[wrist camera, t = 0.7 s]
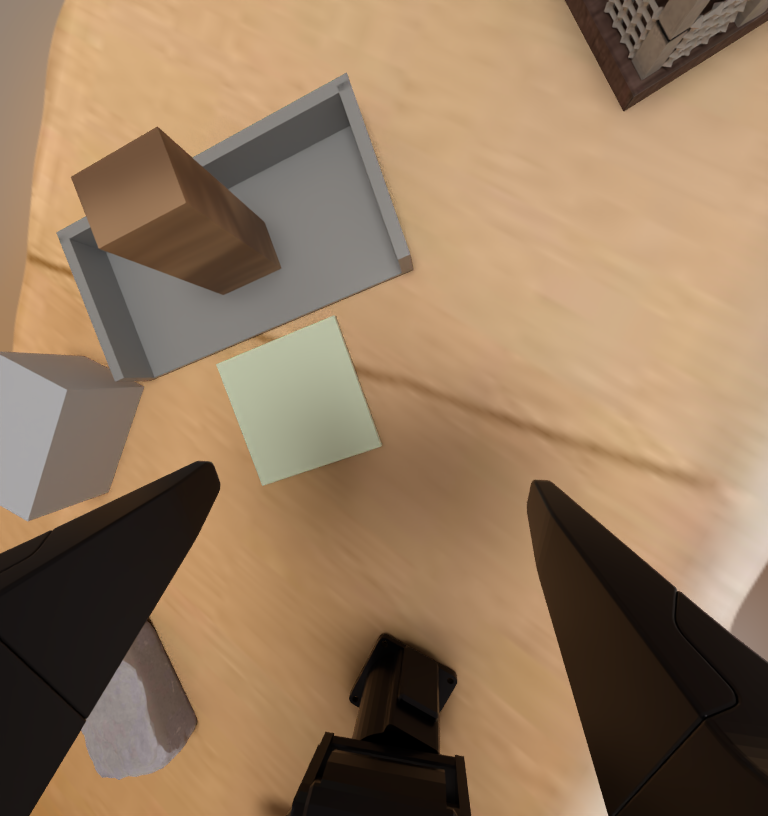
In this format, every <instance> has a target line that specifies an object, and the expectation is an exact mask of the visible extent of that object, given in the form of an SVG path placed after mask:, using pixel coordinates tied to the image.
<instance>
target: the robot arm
mask: <svg viewBox="0 0 768 816" xmlns="http://www.w3.org/2000/svg"><path fill="white" fill-rule="evenodd" d="M219 491H220V481H219V478H218V475H217V472H216V470H215V467H214V465H213V463H212V462H209V461H196V462H194V463H192V464H190V465H188V466H185V467H183V468H181V469H179V470H177V471H175V472H173V473H171V474H169V475H166V476H164V477H162V478H160V479H158V480H156V481H154V482H152V483H150V484H147V485H145V486H143V487H141V488H139V489H137V490H135V491H133V492H131V493H128V494H126V495H124V496H122V497H120V498H118V499H116V500H114V501H112V502H109V503H107V504H105V505H103V506H101V507H99V508H97V509H95V510H93V511H90V512H88V513H86V514H84V515H82V516H80V517H78V518H76V519H74V520H71V521H69V522H67V523H65V524H63V525H61V526H59V527H57V528H55V529H54V530H53V531H48V532H46V533H44V534H42V535H40V536H37V537H35V538H33V539H31V540H29V541H27V542H25V543H22V544H20V545H18V546H16V547H14V548H12V549H9V550H7V551H5V552H3V553H1V554H0V816H29V815H30V814H31V812H32V810H33V809H34V807H35V805H36V804H37V802H38V800H39V799H40V797H41V795H42V794H43V792H44V791H45V789H46V787H47V786H48V784H49V782H50V781H51V779H52V777H53V776H54V774H55V772H56V771H57V769H58V767H59V766H60V764H61V762H62V761H63V759H64V757H65V756H66V754H67V752H68V751H69V749H70V747H71V746H72V744H73V742H74V741H75V739H76V737H77V736H78V734H79V733H80V731H81V729H82V728H83V726H84V724H85V723H86V719H87V718H88V717H89V715H90V714H91V712H92V711H93V709H94V707H95V706H96V704H97V702H98V701H99V699H100V697H101V696H102V694H103V692H104V691H105V689H106V687H107V686H108V684H109V682H110V681H111V679H112V677H113V676H114V674H115V672H116V671H117V669H118V668H119V666H120V664H121V663H122V661H123V659H124V658H125V656H126V654H127V653H128V651H129V649H130V648H131V646H132V644H133V643H134V641H135V639H136V638H137V636H138V634H139V633H140V631H141V629H142V628H143V626H144V624H145V623H146V621H147V620H148V618H149V616H150V615H151V613H152V611H153V610H154V608H155V606H156V605H157V603H158V601H159V600H160V598H161V596H162V595H163V593H164V591H165V590H166V588H167V586H168V585H169V583H170V581H171V580H172V578H173V577H174V575H175V573H176V572H177V570H178V568H179V567H180V565H181V563H182V562H183V560H184V558H185V557H186V555H187V553H188V552H189V550H190V548H191V547H192V545H193V543H194V542H195V540H196V538H197V536H198V534H199V532H200V530H201V528H202V526H203V524H204V522H205V520H206V518H207V516H208V514H209V512H210V510H211V508H212V506H213V503H214V501H215V499H216V497H217V495H218V493H219ZM527 515H528V521H529V527H530V533H531V538H532V544H533V550H534V556H535V562H536V567H537V571H538V575H539V579H540V582H541V586H542V589H543V593H544V596H545V600H546V603H547V607H548V610H549V613H550V617H551V620H552V624H553V627H554V631H555V634H556V637H557V641H558V644H559V648H560V651H561V655H562V658H563V661H564V665H565V668H566V672H567V675H568V679H569V682H570V685H571V689H572V692H573V696H574V699H575V703H576V706H577V710H578V713H579V716H580V720H581V723H582V727H583V730H584V734H585V737H586V740H587V744H588V747H589V751H590V754H591V758H592V761H593V764H594V768H595V771H596V775H597V778H598V782H599V785H600V789H601V792H602V795H603V799H604V802H605V806H606V809H607V813H608V816H768V662H767V661H766V660H765V659H763V658H762V657H761V656H759V655H758V654H757V653H755V652H754V651H753V650H752V649H750V648H749V647H748V646H746V645H745V644H744V643H743V642H741V641H740V640H739V639H738V638H736V637H735V636H733V635H732V634H731V633H730V632H729V631H727V630H726V629H725V628H724V627H723V626H721V625H720V624H719V623H718V622H716V621H715V620H714V619H713V618H712V617H710V616H709V615H708V614H707V613H706V612H704V611H703V610H702V609H701V608H699V607H698V606H697V605H696V604H695V603H694V602H692V601H691V600H690V599H689V598H688V597H687V596H685V595H684V594H683V593H682V592H680V591H677V589H676V587H675V586H673V585H672V584H671V583H670V582H669V581H668V580H666V579H665V578H664V577H663V576H662V575H660V574H659V573H658V572H657V571H656V570H655V569H653V568H652V567H651V566H650V565H649V564H648V563H646V562H645V561H644V560H643V559H642V558H640V557H639V556H638V555H637V554H636V553H635V552H633V551H632V550H631V549H630V548H629V547H628V546H626V545H625V544H624V543H623V542H622V541H621V540H619V539H618V538H617V537H616V536H615V535H613V534H612V533H611V532H610V531H609V530H608V529H606V528H605V527H604V526H603V525H602V524H601V523H599V522H598V521H597V520H596V519H595V518H593V517H592V516H591V515H590V514H589V513H588V512H586V511H585V510H584V509H583V508H582V507H581V506H579V505H578V504H577V503H576V502H575V501H573V500H572V499H571V498H570V497H569V496H568V495H566V494H565V493H564V492H563V491H562V490H561V489H559V488H558V487H557V486H556V485H555V484H554V483H552V482H551V481H548V480H534V481H532V483H531V487H530V492H529V497H528V501H527ZM383 641H386V642H387V643H384V642H383ZM448 678H452V679H448ZM456 684H457V675H456V673H455V672H454V671H452V670H450V669H449V668H447V667H445V666H443V665H441V664H440V663H438V662H436V661H434V660H432V659H430V658H429V657H427V656H425V655H423V654H421V653H420V652H418V651H416V650H414V649H412V648H411V647H409V646H407V645H405V644H403V643H402V642H400V641H398V640H396V639H394V638H393V637H391V636H389V635H387V634H382V635H381V636H380V637H379V639H378V641H377V643H376V645H375V646H374V648H373V650H372V652H371V654H370V656H369V658H368V660H367V662H366V664H365V666H364V667H363V669H362V671H361V673H360V675H359V677H358V679H357V681H356V683H355V685H354V687H353V688H352V690H351V693H350V697H349V700H350V702H351V703H352V704H354V705H355V706H357V707H359V711H358V716H357V720H356V724H355V729H354V733H353V737H352V739H351V738H346V737H340V736H334V733H329V732H325V735H324V737H323V739H322V741H321V743H320V745H318V747H317V749H316V751H315V754H314V756H313V758H312V760H311V762H310V765H309V767H308V769H307V771H306V773H305V776H304V778H303V780H302V782H301V784H300V786H299V789H298V791H297V793H296V795H295V798H294V800H293V804H292V808H291V809H290V810H289V812H288V813H287V815H286V816H471V810H470V802H469V794H468V786H467V777H466V769H465V761H464V756H459V755H455V757H452V756H446V755H441V754H440V727H439V714H440V712H441V710H442V708H443V707H444V705H445V703H446V702H447V700H448V698H449V696H450V695H451V693H452V691H453V690H454V688H455V686H456ZM355 696H356V697H355Z"/></svg>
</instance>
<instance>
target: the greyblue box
mask: <svg viewBox="0 0 768 816" xmlns="http://www.w3.org/2000/svg"><path fill="white" fill-rule="evenodd" d="M143 389H144V386H142V385H140V384H138V383H136V382H134V381H128V382H115V380H114V378H113V375H112V373H111V370H110V369H109V368H107V367H105V366H103V365H101V364H99V363H97V362H95V361H93V360H91V359H89V358H87V357H85V356H73V355H54V354H36V353H17V352H0V506H2V507H4V508H6V509H7V510H9V511H11V512H12V513H14V514H16V515H18V516H19V517H21V518H23V519H25V520H26V521H30V520H33V519H36V518H38V517H41V516H44V515H47V514H49V513H52V512H55V511H58V510H61V509H63V508H66V507H69V506H72V505H75V504H77V503H80V502H83V501H86V500H88V499H91V498H94V497H97V496H100V495H102V494H105V493H108V492H109V490H110V487H111V484H112V481H113V478H114V475H115V472H116V469H117V466H118V463H119V460H120V457H121V454H122V451H123V448H124V445H125V442H126V439H127V436H128V433H129V430H130V427H131V424H132V421H133V418H134V416H135V413H136V410H137V407H138V404H139V401H140V398H141V395H142V392H143Z"/></svg>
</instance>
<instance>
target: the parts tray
mask: <svg viewBox="0 0 768 816" xmlns="http://www.w3.org/2000/svg"><path fill="white" fill-rule="evenodd" d="M193 159H194V160H195V161H197V162H198V163H199V164H200V165H201V166H202V167H203V168H204V169H206V170H207V171H208V172H209V173H210V174H211V175H212V176H213V177H215V178H216V179H217V180H218V181H219V182H220V183H221V184H222V185H224V186H225V187H226V188H227V189H228V190H229V191H230V192H231V193H233V194H234V195H235V196H236V197H237V198H238V199H239V200H240V201H242V202H243V203H244V204H245V205H246V206H247V207H248V208H249V209H250V210H252V211H253V212H254V213H255V214H256V215H257V216H258V217H259V218H261V219H262V220H263V221H264V222H265V225H266V227H267V230H268V233H269V235H270V238H271V241H272V244H273V246H274V249H275V252H276V255H277V257H278V260H279V263H280V265H281V268H282V269H280V270H277V271H275V272H273V273H271V274H269V275H266V276H264V277H262V278H260V279H258V280H255V281H253V282H251V283H249V284H247V285H245V286H242V287H240V288H238V289H236V290H234V291H231V292H229V293H227V294H225V295H221V294H219V293H216V292H213V291H211V290H208V289H205V288H203V287H200V286H197V285H195V284H192V283H189V282H187V281H184V280H181V279H179V278H176V277H173V276H171V275H168V274H165V273H163V272H160V271H157V270H155V269H152V268H149V267H147V266H144V265H141V264H139V263H136V262H133V261H130V260H128V259H125V258H122V257H120V256H117V255H114V254H112V253H109V252H106V251H104V250H101V249H99V248H98V245H97V243H96V240H95V238H94V235H93V233H92V230H91V227H90V225H89V222H88V220H87V217H84V218H82V219H80V220H78V221H76V222H75V223H73V224H71V225H69V226H67V227H66V228H64V229H62V230H60V231H58V232H57V235H58V238H59V240H60V243H61V245H62V248H63V251H64V253H65V256H66V258H67V261H68V263H69V266H70V268H71V271H72V273H73V276H74V279H75V281H76V284H77V286H78V289H79V291H80V294H81V296H82V299H83V301H84V304H85V307H86V309H87V312H88V314H89V317H90V319H91V322H92V324H93V327H94V329H95V332H96V334H97V337H98V340H99V342H100V345H101V347H102V350H103V352H104V355H105V357H106V360H107V362H108V365H109V368H110V370H111V373H112V375H113V378H114V380H115V382H128V381H151V380H153V379H156V378H158V377H160V376H163V375H165V374H168V373H170V372H172V371H175V370H177V369H179V368H182V367H184V366H187V365H189V364H191V363H194V362H196V361H198V360H201V359H203V358H205V357H208V356H210V355H213V354H215V353H217V352H220V351H222V350H224V349H227V348H229V347H231V346H234V345H236V344H239V343H241V342H243V341H246V340H248V339H250V338H253V337H255V336H258V335H260V334H262V333H265V332H267V331H269V330H272V329H274V328H276V327H279V326H281V325H284V324H286V323H288V322H291V321H293V320H295V319H298V318H300V317H303V316H305V315H307V314H310V313H312V312H314V311H317V310H319V309H321V308H324V307H326V306H329V305H331V304H333V303H336V302H338V301H340V300H343V299H345V298H348V297H350V296H352V295H355V294H357V293H359V292H362V291H364V290H366V289H369V288H371V287H374V286H376V285H378V284H381V283H383V282H385V281H388V280H390V279H392V278H395V277H397V276H400V275H402V274H404V273H407V272H409V271H411V270H413V265H412V260H411V255H410V252H409V249H408V246H407V244H406V241H405V238H404V235H403V232H402V229H401V226H400V224H399V221H398V218H397V215H396V212H395V209H394V206H393V204H392V201H391V198H390V195H389V192H388V189H387V186H386V184H385V181H384V178H383V175H382V172H381V169H380V166H379V164H378V161H377V158H376V155H375V152H374V149H373V146H372V144H371V141H370V138H369V135H368V132H367V129H366V126H365V124H364V121H363V118H362V115H361V112H360V109H359V106H358V104H357V101H356V98H355V95H354V92H353V89H352V86H351V84H350V81H349V78H348V75H347V73H345V74H343V75H341V76H340V77H338V78H336V79H334V80H332V81H331V82H329V83H327V84H325V85H323V86H321V87H320V88H318V89H316V90H314V91H312V92H311V93H309V94H307V95H305V96H303V97H301V98H300V99H298V100H296V101H294V102H292V103H291V104H289V105H287V106H285V107H283V108H282V109H280V110H278V111H276V112H274V113H272V114H271V115H269V116H267V117H265V118H263V119H262V120H260V121H258V122H256V123H254V124H252V125H251V126H249V127H247V128H245V129H243V130H242V131H240V132H238V133H236V134H234V135H233V136H231V137H229V138H227V139H225V140H223V141H222V142H220V143H218V144H216V145H214V146H213V147H211V148H209V149H207V150H205V151H204V152H202V153H200V154H198V155H196V156H194V157H193Z"/></svg>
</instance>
